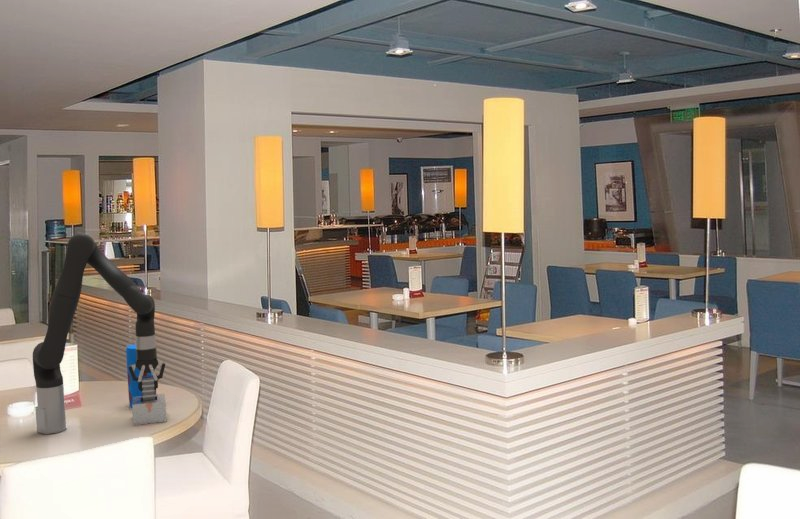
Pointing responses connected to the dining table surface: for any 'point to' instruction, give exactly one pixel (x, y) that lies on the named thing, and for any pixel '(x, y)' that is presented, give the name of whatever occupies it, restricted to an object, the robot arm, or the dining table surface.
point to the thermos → (132, 384)
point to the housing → (149, 410)
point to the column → (148, 388)
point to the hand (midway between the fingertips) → (148, 390)
